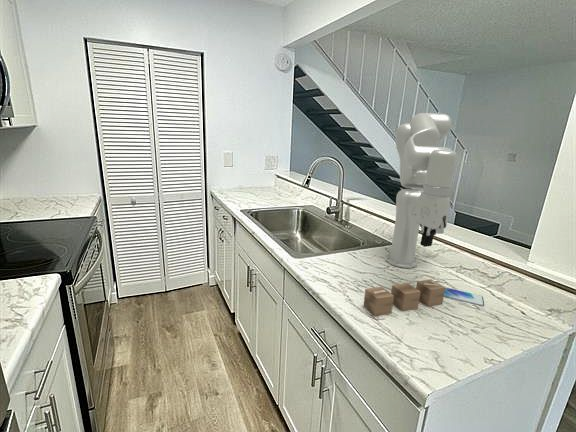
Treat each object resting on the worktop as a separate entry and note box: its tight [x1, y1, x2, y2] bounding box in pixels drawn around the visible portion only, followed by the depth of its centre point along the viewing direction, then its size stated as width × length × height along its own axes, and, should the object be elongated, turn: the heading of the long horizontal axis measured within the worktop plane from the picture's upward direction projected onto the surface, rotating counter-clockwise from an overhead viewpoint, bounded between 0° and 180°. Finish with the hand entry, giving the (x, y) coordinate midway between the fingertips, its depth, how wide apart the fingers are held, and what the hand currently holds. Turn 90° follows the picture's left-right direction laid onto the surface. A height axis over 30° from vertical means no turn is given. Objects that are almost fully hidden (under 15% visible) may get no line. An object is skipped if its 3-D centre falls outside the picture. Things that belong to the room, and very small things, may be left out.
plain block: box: [390, 282, 421, 312], centre depth 100 cm, size 6×6×6 cm
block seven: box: [415, 279, 446, 308], centre depth 103 cm, size 6×6×6 cm
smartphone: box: [444, 286, 485, 307], centre depth 108 cm, size 7×1×15 cm
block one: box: [363, 286, 394, 317], centre depth 96 cm, size 6×6×6 cm
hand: (425, 245), depth 103 cm, fingers closed
